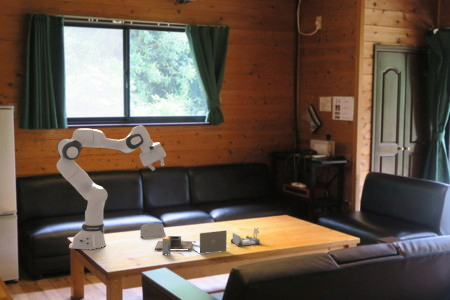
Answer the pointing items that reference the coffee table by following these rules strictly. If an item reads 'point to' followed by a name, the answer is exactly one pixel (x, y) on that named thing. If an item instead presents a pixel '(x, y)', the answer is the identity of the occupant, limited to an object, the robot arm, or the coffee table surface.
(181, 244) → the keeper
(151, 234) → the grey rounded block
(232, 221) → the coffee table surface
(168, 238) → the toggle bar
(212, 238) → the laptop
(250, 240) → the toy car
